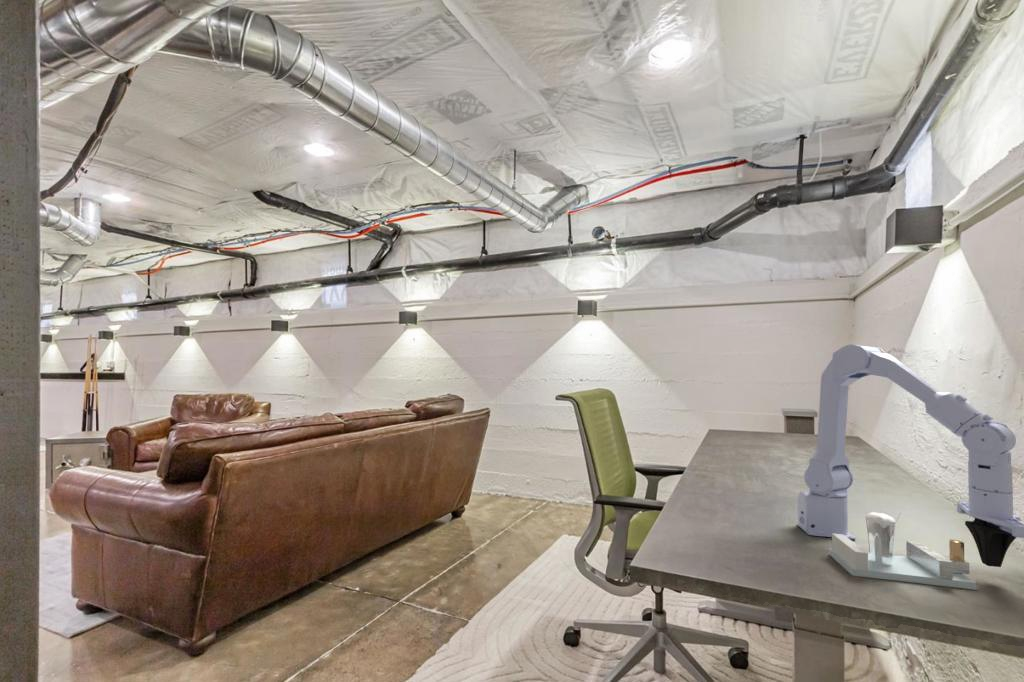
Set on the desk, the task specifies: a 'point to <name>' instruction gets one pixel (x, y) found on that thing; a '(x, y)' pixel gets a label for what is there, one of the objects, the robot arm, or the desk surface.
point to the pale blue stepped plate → (900, 569)
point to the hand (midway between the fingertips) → (991, 565)
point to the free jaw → (939, 559)
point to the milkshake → (880, 537)
